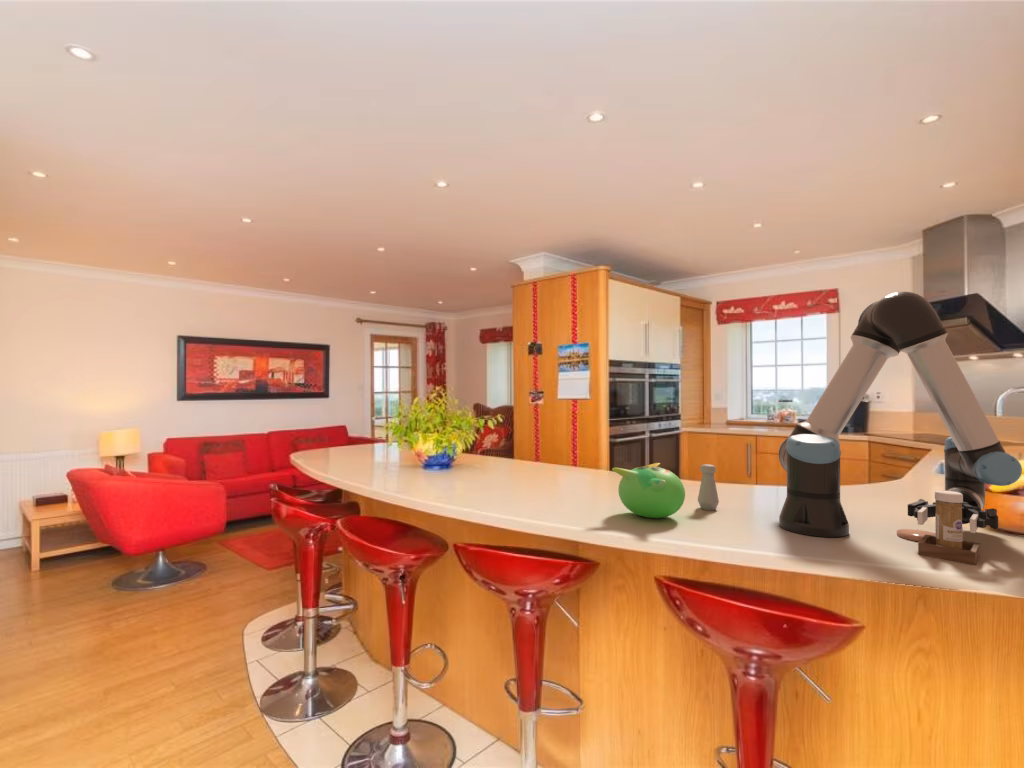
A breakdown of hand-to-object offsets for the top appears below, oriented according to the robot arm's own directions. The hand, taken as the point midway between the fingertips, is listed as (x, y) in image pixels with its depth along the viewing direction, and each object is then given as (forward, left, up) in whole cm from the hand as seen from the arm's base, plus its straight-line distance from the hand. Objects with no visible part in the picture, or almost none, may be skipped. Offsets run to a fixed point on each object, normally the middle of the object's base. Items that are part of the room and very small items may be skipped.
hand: (945, 522), depth 104 cm
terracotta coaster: (+6, +17, -8) cm, 19 cm away
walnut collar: (+3, +4, -8) cm, 9 cm away
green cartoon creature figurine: (-55, +30, -8) cm, 63 cm away
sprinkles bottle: (+3, +4, -8) cm, 9 cm away
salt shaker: (-36, +42, -8) cm, 55 cm away
